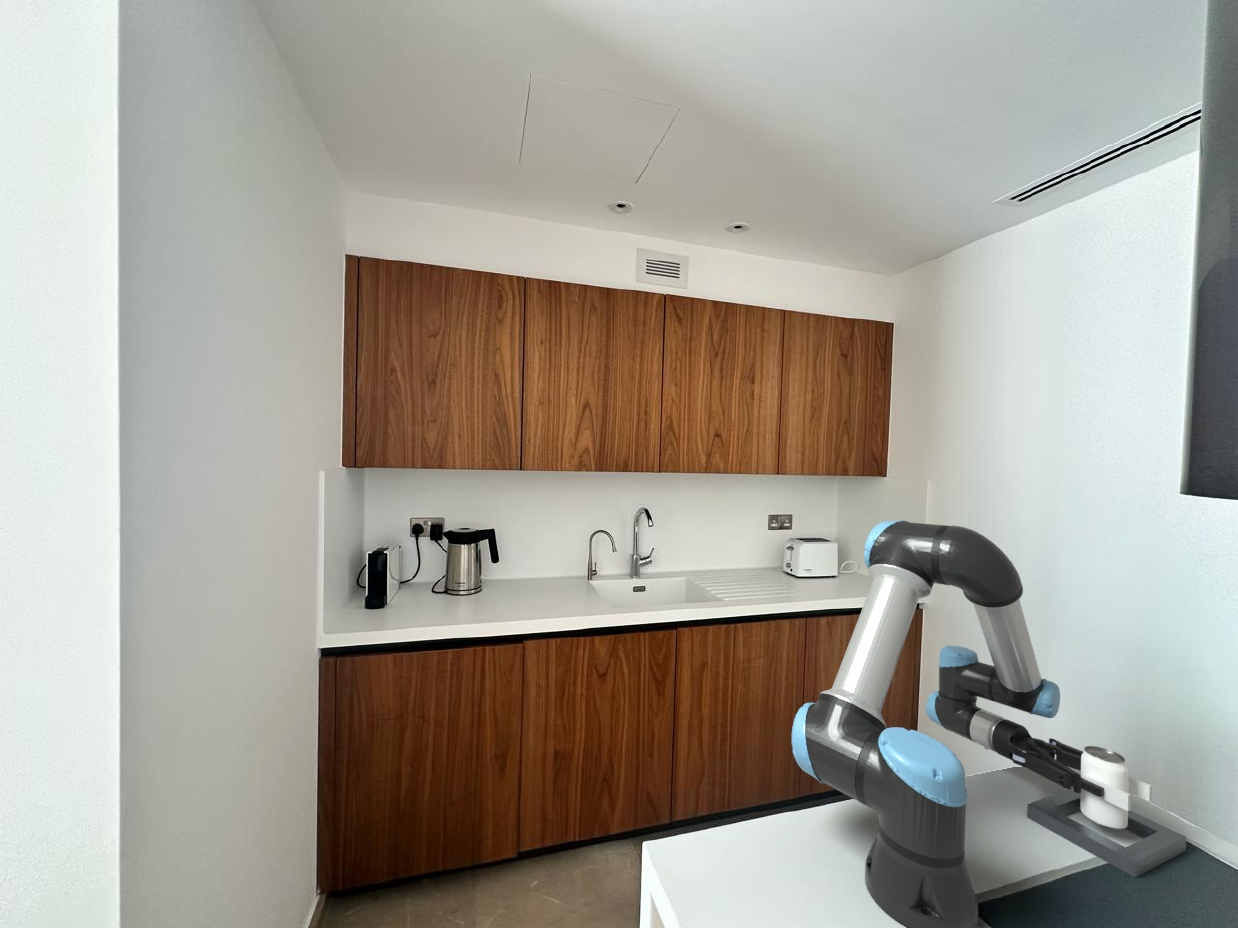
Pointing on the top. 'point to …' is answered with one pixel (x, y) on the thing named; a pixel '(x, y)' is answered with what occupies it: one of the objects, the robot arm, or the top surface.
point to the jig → (1129, 859)
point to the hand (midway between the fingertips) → (1139, 797)
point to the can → (1111, 772)
